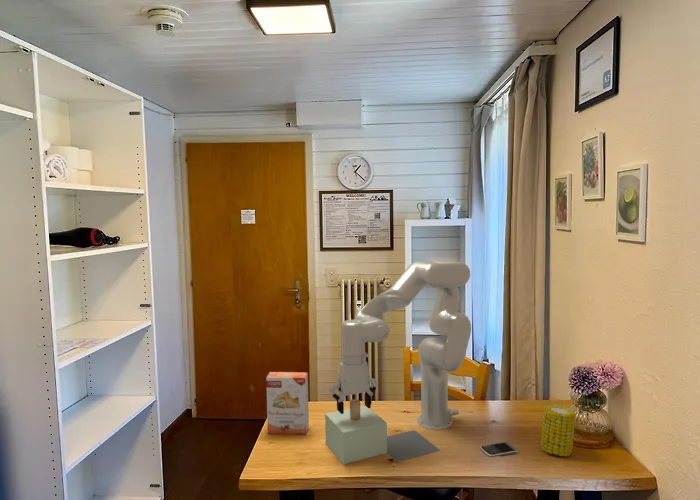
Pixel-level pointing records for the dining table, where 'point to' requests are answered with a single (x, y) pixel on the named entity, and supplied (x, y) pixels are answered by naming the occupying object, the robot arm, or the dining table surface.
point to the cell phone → (499, 449)
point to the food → (558, 430)
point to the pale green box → (355, 433)
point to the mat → (408, 446)
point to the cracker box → (287, 402)
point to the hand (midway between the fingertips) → (354, 409)
